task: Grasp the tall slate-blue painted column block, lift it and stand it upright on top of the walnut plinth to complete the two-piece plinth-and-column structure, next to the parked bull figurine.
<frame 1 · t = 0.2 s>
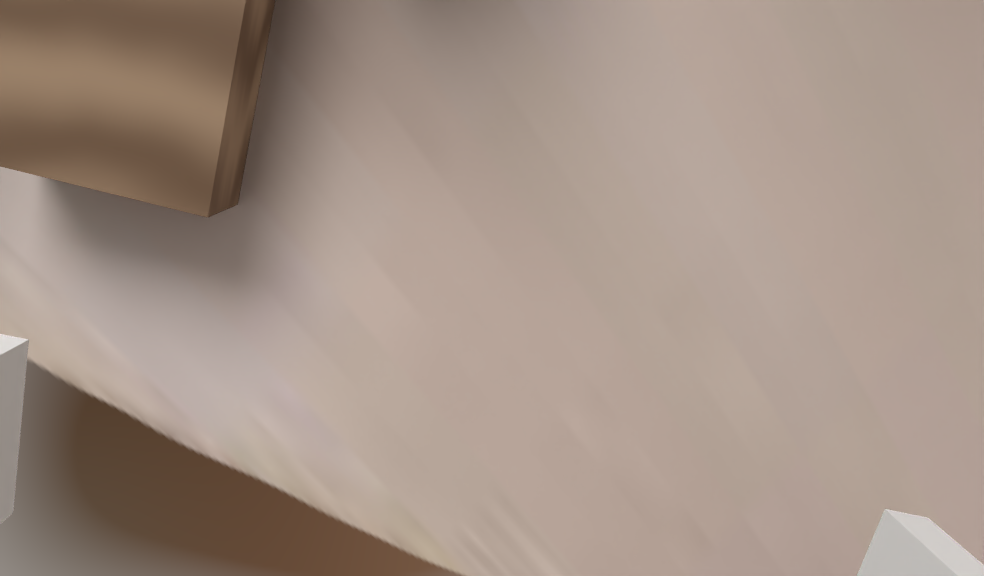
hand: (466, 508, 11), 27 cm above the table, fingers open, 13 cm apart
plinth: (166, 20, 34), on the table
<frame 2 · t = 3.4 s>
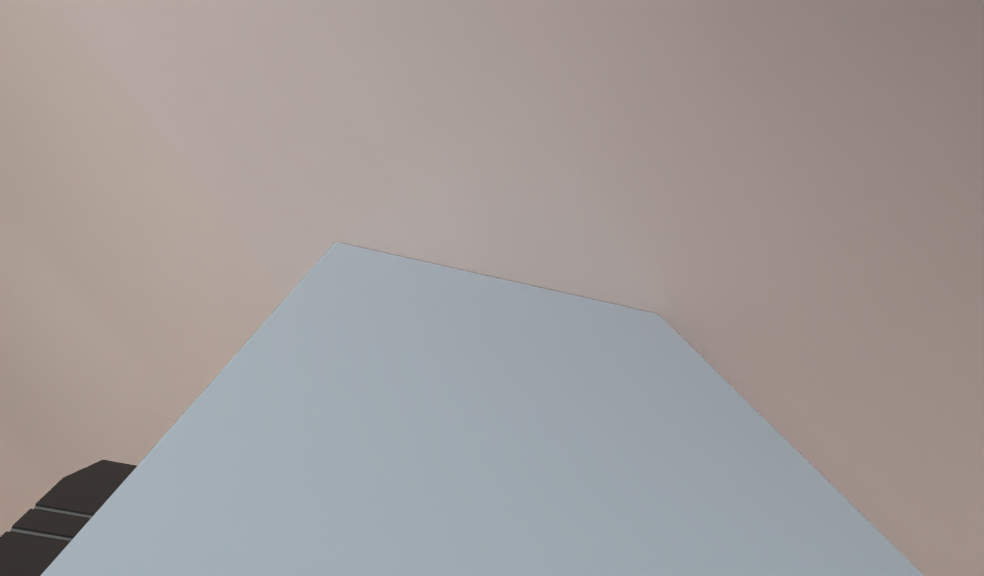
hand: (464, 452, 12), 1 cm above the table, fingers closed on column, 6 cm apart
column: (463, 428, 13), on the table, touching gripper
when the fingers open (7 cm above the table, at t = 8.4 s): column drops 1 cm, point 5 cm above the table.
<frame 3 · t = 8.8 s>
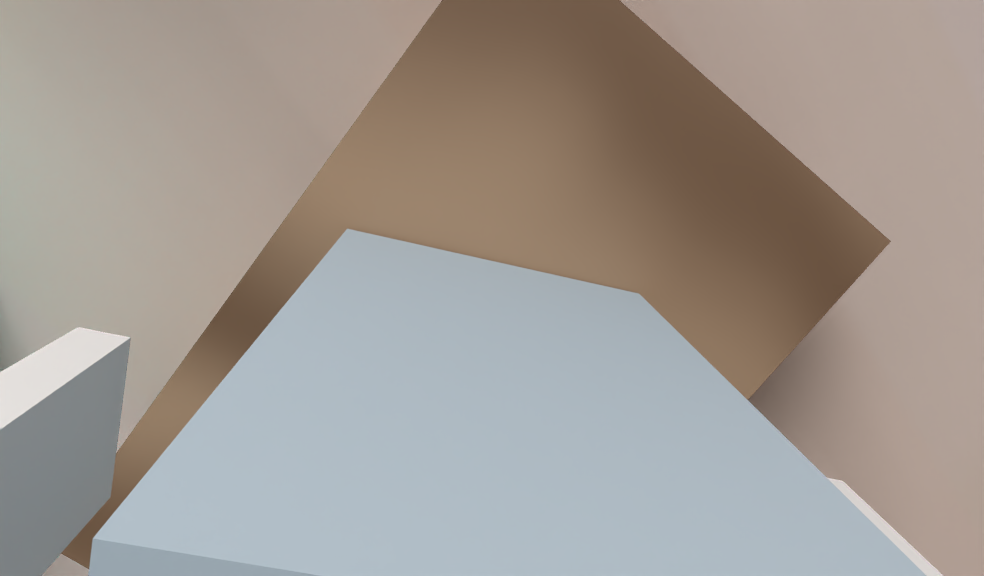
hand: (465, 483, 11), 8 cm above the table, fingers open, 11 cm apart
column: (463, 398, 15), point 5 cm above the table
plinth: (458, 326, 19), on the table
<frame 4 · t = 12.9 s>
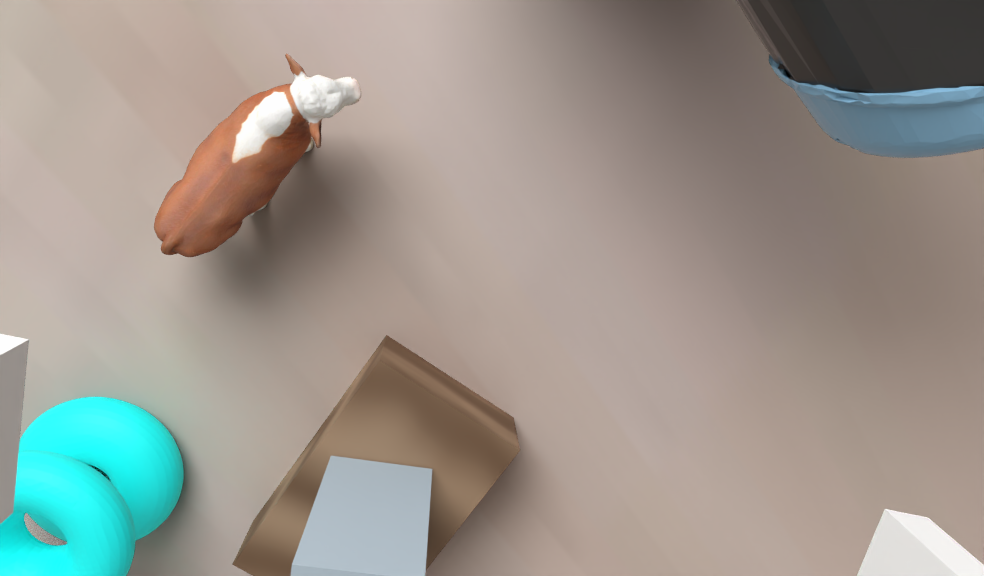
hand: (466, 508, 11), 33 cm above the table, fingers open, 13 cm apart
column: (375, 506, 42), point 5 cm above the table
bull figurine: (276, 151, 41), on the table
plinth: (382, 466, 47), on the table
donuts: (112, 459, 45), on the table
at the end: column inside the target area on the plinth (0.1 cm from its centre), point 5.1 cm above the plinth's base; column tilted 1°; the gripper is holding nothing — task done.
